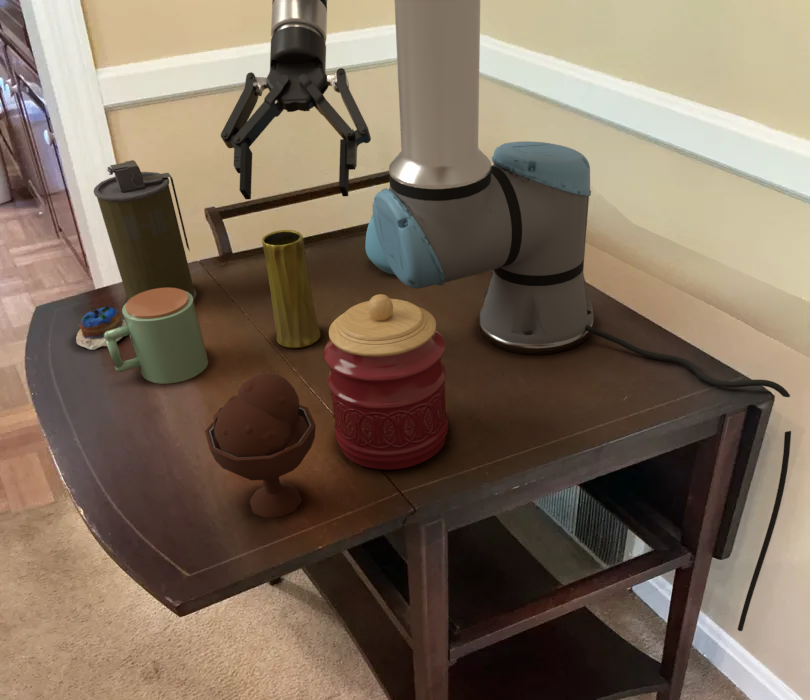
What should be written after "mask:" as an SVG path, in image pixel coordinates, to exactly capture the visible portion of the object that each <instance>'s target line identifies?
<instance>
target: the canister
mask: <svg viewBox="0 0 810 700" xmlns="http://www.w3.org/2000/svg"><path fill="white" fill-rule="evenodd" d="M106 171H107V172H108V175H109V176H113V174H114V176H113V177H109V178H106V179H105V180H103V181H100V182H99V183H98V184H97V185H96V186H95V187H94V188H93V195H94V196H95V197H96V199H97V202H98V205H99V210H100V212H101V215H102V218H103V219H102V220H103V222H104V225H105V229H106V232H107V236H108V239H109V242H110V246H111V248H112V252H113V255H114V259H115V263H116V266H117V269H118V272H119V275H120V279H121V282H122V285H123V288H124V292H125V295H126V300H127V301H128V300H129V299H131V298H132V297H134V296H135V295H137V294H139V293H142V292H144V291H148V290H151V289H157V288H178V289H181V290H184V291H186V292H188V293H190V294H191V295H192V297H193V300H194V301H195V300H196V298H197V291H196V288H195V287H194V284H193V280H192V274H191V272H190V271H191V270H190V267H189V263H188V262H189V261H188V258H187V255H186V251H185V246H186V248H187V250H188V252H191V251H190V246H189V241H188V236H187V234H186V228H185V224H184V220H183V217H182V212H181V208H180V203H179V199H178V195H177V191H176V188H175V184H174V179H173V177H172V175H171V174H170V172H164V173H160V172H155V171H154V172H153V171H141V169H140V167H139V165H138V164H137V162H136V160H134V159H131V160H127V161H124V162H120V163H115V164H110V165H109V166H107V169H106ZM170 183H171V188H172V191H173V196H174V199H175V204H176V208H177V212H178V217H179V220H180V224H181V229H182V232H183V237H184V241H185V246H184V242H183V239H182V238H183V237H182V234H181V230H180V226H179V221H178V217H177V213H176V209H175V205H174V200H173V197H172V192H171V188H170Z"/></svg>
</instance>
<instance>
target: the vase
mask: <svg viewBox="0 0 810 700" xmlns="http://www.w3.org/2000/svg"><path fill="white" fill-rule="evenodd" d="M261 243H262V249H263V255H264V259H265V265H266V272H267V273H266V274H267V278H268V284H269V285H268V286H269V290H270V297H271V304H272V305H271V306H272V312H273V320H274V327H275V332H276V342H277V343H278V345H280V346H281V347H283V348H287V349H302V348H303V349H304V348H306V347H307V348H308V347H309V346H312V345H315V343H317V342H318V341H319V339H320V338H321V331H320V326H319V322H318V318H317V312H316V307H315V303H314V298H313V294H312V289H311V283H310V276H309V269H308V263H307V255H306V248H305V241H304V236H303V234H302V233H300V231H297V230H293V229H281V230H275V231H272V232H269V233H267V234H265V235H264V236H263V237H262V238H261Z"/></svg>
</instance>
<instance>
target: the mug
mask: <svg viewBox="0 0 810 700" xmlns="http://www.w3.org/2000/svg"><path fill="white" fill-rule="evenodd" d="M121 312H122V316H123V320H125V322H126V326H123V327H119V328H116V329H112V330H109V331H106V332H105V333H104V337H105V340H106V343H107V346H106V347H107V349H108V353H109V356H110V359H111V361H112V364H113V367H114V370H115V371H116V373H123V372H126V371H129V370H133V369H136V368H139V370H140V374H141V376H142V377H143V378H144V379H145V380H146V381H148V382H151V383H154V384H163V385H164V384H167V385H169V384H177V383H181V382H185V381H188V380H191V379H192V378H195V377H197V376H198V375H200V374H201V373H203V372H204V371H205V370H206V368H207V367H208V365H209V357H208V353H207V348H206V344H205V340H204V337H203V333H202V329H201V325H200V321H199V317H198V313H197V309H196V305H195V300H193V297H192V295H191V294H190V293H188V292H186V291H184V290H181V289H178V288H157V289H151V290H148V291H144V292H142V293H139V294H137V295H135V296H134V297H132V298H131V299H129V300H128V299H127V301H126V303H124V305H123V307H122V309H121ZM127 336H129V338H130V342H131V345H132V348H133V351H134V355H135V357H134V358H130V359H126V360H123V359H122V355H121V352H120V349H119V346H118V342H116V340H115V339H117V338H120V337H122V338H123V337H127Z"/></svg>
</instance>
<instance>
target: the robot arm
mask: <svg viewBox="0 0 810 700" xmlns="http://www.w3.org/2000/svg"><path fill="white" fill-rule="evenodd" d="M271 1H272V3H271V4H272V5H271V24H270V26H271V27H270V36H271V39H270V52H269V53H270V54H269V55H270V57H269V72H268V74H267V76H266V77H263V76H256V75H255V73H254V72H252V71H251V72H248V73H247V74H246V76H245V81H244V82H245V83H244V88H243V90H242V92H241V94H240V96H239V98H238V99H237V102H236V104H235V106H234V108H233V109H232V111H231V114H230V115H229V117H228V119H227V121H226V123H225V125H224V127H223V129H222V131H221V133H220V138H221V139H222V141H223V143H224V144H225V146H226V147H227V148H228V149H233V167H234V169H235V171H236V173H237V174H239V192H240V194H242V196H243V199H245V200H252V177H253V176H252V175H253V152H252V150H251V148H250V147H251V146H252V145H253V144H254V143H255V141H256V140H257V139H258V138H259V136H260V135H261V134H262V133H263V132H264V131H265V129H266V128H267V127H268V126H269V125H270V124H271V123H272V121H273V120H274V119H275V118H277V117H279V116H280V115H281V114H282V112H284V111H286V112H287V113H293V112H297V111H301V112H310V111H311V109H313V108H315V109H316V110H317V111H318V113H319V114H320V115H321V116H323V117H324V118H325V120H326V121H327V122H328V123H329V125H331V127H332V128H333V129H334V130H335V131H336V133H337V134H338V135H339V136H340V137H341V138H340V139H339V173H338V174H339V175H338V178H339V179H338V189H339V190H340V193H341V195H342V197H349V186H350V185H349V183H350V182H349V181H350V175H349V174H350V170H353V171H354V170H356V168H357V165H358V163H357V161H358V147H359V145H361V144H369V143H371V140H372V137H371V133H370V130H369V126H368V125H367V123H366V121H365V119H364V116H363V114H362V113H361V111H360V108H359V106H358V105H357V102H356V100H355V98H354V96H353V94H352V92H351V90H350V85H349V83H350V82H349V79H348V76H347V73H346V70H345V69H344V68H342V67H339V68H338V69H337V70H336V72H335V73H329V74H327V73H326V70H327V69H326V68H327V67H326V66H327V36H328V35H327V29H328V0H271ZM394 17H395V18H394V19H395V20H394V21H395V37H396V38H395V41H396V43H395V44H396V63H397V83H398V104H399V105H398V106H399V107H398V109H399V127H400V128H399V129H400V149H401V150H400V152H399V153H398V154H397V155H396V156H395V158H393V160H392V161H391V162H390V163H389V166H388V175H389V176H388V177H389V188H382V189H381V190H379V192H377V193H376V194H375V195H374V197H373V202H372V215H373V219H374V224H375V229H376V233H377V236H378V240H379V243H380V245H381V248H382V251H383V253H384V255H385V257H386V260H387V262H388V264H389V265H390V267H391V269H392V270H393V272H394V274H395V275H394V274H393V275H394V276H395V277H396V278H397V279H398V280H399V281H400V282H401V283H402V284H403V285H405V286H407V287H408V288H411V289H423V288H427V287H433V286H444V285H445V283H450V282H453V281H456V280H461V279H464V278H468V277H472V276H475V275H479V274H482V273H486V272H490V271H492V277H491V279H490V282H489V285H488V287H487V288H486V289H485V292H484V295H483V298H485V299H484V301H483V302H484V303H483V305H482V307H481V309H480V312H479V331H480V334H481V336H482V337H483V339H485V340H486V341H487V342H488V343H490V344H491V345H493V346H495V347H496V348H500V349H501V350H505V351H509V352H513V353H518V354H526V355H542V354H543V355H544V354H545V355H547V354H551V353H552V354H554V353H558V352H563V351H567V350H569V349H572V348H576V347H577V346H579V345H580V344H582V343H584V342H585V341H586V340H587V339H589V337H590V336H591V334H592V335H595V336H598V337H601V338H603V339H605V340H608V341H610V342H612V343H614V344H616V345H619V346H621V347H623V348H625V349H627V350H628V351H630V352H633V353H636V354H637V355H640V356H644V357H646V358H650V359H654V360H659V361H665V362H671V363H676V364H680V365H682V366H684V367H686V368H687V369H689V370H691V371H692V372H693V373H694V374H695V375H696V376H697V377H698V378H699V379H700V380H701V381H703V382H705V383H707V384H710V385H712V386H716V387H720V388H744V387H758V386H759V387H767V388H770V389H773V390H774V391H775V392H778V394H780V396H782V397H783V398H790V397H791V394H790V393H789V392H788V390H787V389H786V388H785V387H783V386H782V385H781V384H779V383H777V382H775V381H771V380H768V379H744V380H730V381H729V380H719V379H716V378H712V377H710V376H709V375H707V374H705V373H704V372H703V371H702V370H701V369H700V368H699V367H698V366H697V365H696V364H695V363H693V362H691V361H690V360H687V359H685V358H682V357H679V356H675V355H670V354H664V353H657V352H652V351H649V350H647V349H646V350H645V349H643V348H641V347H638V346H636V345H633V344H632V343H629V342H627V341H625V340H623V339H621V338H619V337H617V336H615V335H612V334H610V333H608V332H605V331H602V330H600V329H598V328H595V327H594V320H595V319H594V318H595V317H594V310H593V306H592V301H591V298H590V293H589V291H588V286H587V282H586V278H585V273H584V269H585V268H584V265H585V255H586V241H587V230H588V215H589V202H590V196H591V195H592V190H591V165H590V162H589V160H588V158H587V157H586V156H585V155H584V154H582V152H580V151H577V150H576V149H574V148H572V147H568V146H565V145H561V144H555V143H550V142H543V141H530V140H529V141H512V142H505V143H503V144H500V145H499V146H497V147H496V148H495V149H494V150H493V151H494V152H493V155H492V157H491V160H490V158H489V157H488V156H487V155H486V154H485V153H484V152H483V151H482V150H481V149H480V148H479V122H480V120H479V119H480V118H479V116H480V109H479V108H480V60H481V59H480V57H481V54H480V53H481V52H480V51H481V0H394ZM329 87H332V88H333V90H334V92H336V93H339V94H340V96H341V99H342V102H343V104H344V106H345V108H346V110H347V112H348V115H349V116H350V119H351V121H352V123H353V124H354V126H355V128H356V129H355V130H354V128H351V126H349V124H348V123H347V122H346V121H345V120H344V119H343V117H342V116H341V115H340V114H339V113H338V111H337V110H336V109H335V107H333V106H332V105H331V104H330V103H329V101H328V100H327V99H326V97H325V96H324V94H325V93H326V92H327V90H328V88H329ZM266 89H267V90H268V93H267V94H266V95H265V97H264V100H263V102H262V103H261V104H260V105H259V107H258V108H257V109H256V111H254V109H255V107H256V106H257V104H258V100H259V97H262V96H263V92H264V91H265V90H266ZM253 111H254V113H253ZM252 113H253V114H252ZM491 161H492V162H491ZM492 163H493V164H492ZM791 439H792V430H788V431H784V438H783V453H782V461H781V468H780V469H781V470H780V474H779V481H778V486H777V491H776V495H775V499H774V505H773V508H772V512H771V516H770V520H769V523H768V526H767V530H766V533H765V536H764V539H763V542H762V546H761V550H760V552H759V556H758V559H757V562H756V564H755V567H754V571H753V574H752V577H751V580H750V583H749V586H748V590H747V593H746V596H745V600H744V602H743V607H742V611H741V614H740V619H739V621H738V626H737V631H739V632H742V631H744V626H745V624H746V623H745V622H746V619H747V615H748V612H749V609H750V605H751V601H752V598H753V595H754V593H755V588H756V585H757V582H758V580H759V576H760V573H761V570H762V567H763V565H764V561H765V558H766V555H767V552H768V548H769V545H770V542H771V539H772V536H773V533H774V529H775V526H776V523H777V519H778V516H779V513H780V512H779V511H780V507H781V503H782V500H783V494H784V490H785V485H786V480H787V474H788V469H789V461H790V452H791Z"/></svg>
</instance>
